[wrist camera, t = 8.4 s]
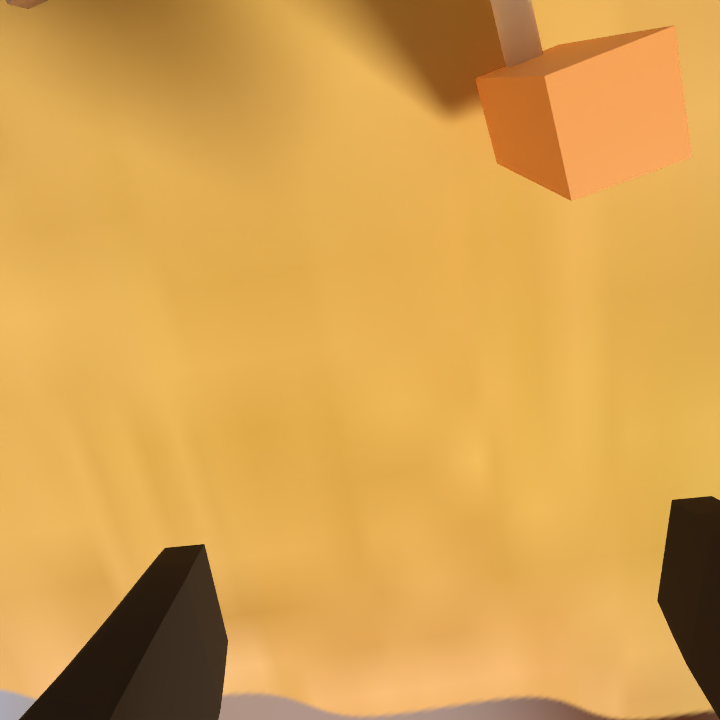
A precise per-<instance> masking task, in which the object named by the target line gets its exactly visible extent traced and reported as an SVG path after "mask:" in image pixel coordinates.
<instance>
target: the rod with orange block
mask: <svg viewBox="0 0 720 720" xmlns="http://www.w3.org/2000/svg"><path fill="white" fill-rule="evenodd" d="M490 3H491V7H492V11H493V15H494V19H495V23H496V28H497V32H498V36H499V40H500V44H501V48H502V53H503V57H504V61H505V65H506V66H504V67H502V68H499V69H497V70H494V71H492V72H489V73H487V74H484V75H481V76H479V77H476V78H475V80H476V84H477V88H478V92H479V96H480V100H481V103H482V107H483V111H484V115H485V119H486V122H487V126H488V130H489V134H490V138H491V142H492V145H493V149H494V153H495V157H496V161H497V163H498V164H500V165H502V166H504V167H506V168H508V169H509V170H511V171H513V172H515V173H517V174H519V175H521V176H523V177H525V178H527V179H529V180H531V181H533V182H535V183H537V184H539V185H541V186H543V187H545V188H547V189H549V190H551V191H553V192H555V193H557V194H559V195H561V196H563V197H565V198H567V199H569V200H571V201H573V200H575V199H578V198H581V197H584V196H586V195H589V194H592V193H595V192H597V191H600V190H603V189H606V188H608V187H611V186H614V185H617V184H619V183H622V182H625V181H628V180H630V179H633V178H636V177H639V176H641V175H644V174H647V173H650V172H652V171H655V170H658V169H661V168H663V167H666V166H669V165H671V164H674V163H677V162H680V161H682V160H685V159H688V158H691V157H692V153H691V145H690V138H689V130H688V123H687V115H686V108H685V100H684V93H683V85H682V78H681V70H680V63H679V56H678V48H677V41H676V33H675V26H669V27H663V28H657V29H651V30H645V31H639V32H633V33H627V34H621V35H615V36H609V37H603V38H597V39H591V40H585V41H579V42H573V43H567V44H561V45H558V46H555V47H553V48H550V49H548V50H545V51H542V47H541V43H540V38H539V33H538V29H537V24H536V19H535V15H534V10H533V6H532V1H531V0H490Z"/></svg>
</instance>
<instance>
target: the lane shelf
mask: <svg viewBox="0 0 720 720" xmlns="http://www.w3.org/2000/svg"><path fill="white" fill-rule="evenodd" d="M45 1H47V0H6V2H7V4H10V5H14V6H19V7H23V8H27V9H29V8H31V7H34V6H36V5H38V4H40V3H43V2H45Z"/></svg>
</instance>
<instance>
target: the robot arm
mask: <svg viewBox="0 0 720 720" xmlns="http://www.w3.org/2000/svg"><path fill="white" fill-rule="evenodd" d="M657 601H658V603H659V605H660V607H661V610H662V612H663V614H664V617H665V619H666V621H667V623H668V626H669V628H670V630H671V632H672V635H673V637H674V639H675V641H676V643H677V645H678V647H679V649H680V651H681V653H682V656H683V658H684V660H685V662H686V664H687V666H688V668H689V669H690V671H691V673H692V674H693V676H694V678H695V679H696V681H697V683H698V684H699V686H700V688H701V689H702V691H703V693H704V694H705V696H706V698H707V699H708V701H709V703H710V704H711V706H712V708H713V709H714V711H715V713H716V714H717V716H718V717H719V719H720V500H718V499H716V498H714V497H712V496H709V497H698V498H688V499H677V500H672V503H671V510H670V517H669V524H668V531H667V538H666V545H665V552H664V559H663V565H662V572H661V579H660V586H659V593H658V600H657ZM227 646H228V639H227V635H226V631H225V627H224V623H223V618H222V614H221V610H220V606H219V602H218V598H217V594H216V590H215V586H214V582H213V578H212V574H211V569H210V565H209V561H208V557H207V553H206V549H205V545H204V544H202V545H191V546H181V547H170V548H165V549H164V550H163V551H162V552H161V553H160V554H159V556H158V557H157V558H156V559H155V560H154V562H153V563H152V564H151V565H150V566H149V568H148V569H147V570H146V571H145V573H144V574H143V575H142V576H141V578H140V579H139V580H138V581H137V583H136V584H135V585H134V586H133V588H132V589H131V590H130V591H129V593H128V594H127V595H126V596H125V598H124V599H123V600H122V601H121V602H120V604H119V605H118V606H117V607H116V609H115V610H114V611H113V612H112V614H111V615H110V616H109V617H108V618H107V620H106V621H105V622H104V623H103V625H102V626H101V627H100V628H99V629H98V631H97V632H96V633H95V634H94V635H93V636H92V638H91V639H90V640H89V641H88V642H87V644H86V645H85V646H84V647H83V648H82V649H81V651H80V652H79V653H78V654H77V655H76V657H75V658H74V659H73V660H72V661H71V662H70V664H69V665H68V666H67V667H66V668H65V669H64V671H63V672H62V673H61V674H60V675H59V676H58V677H57V679H56V680H55V681H54V682H53V683H52V684H51V685H50V686H49V687H48V688H47V690H46V691H45V692H44V693H43V694H42V695H41V696H40V697H39V698H38V699H37V701H36V702H35V703H34V704H33V705H32V706H31V707H30V708H29V709H28V710H27V711H26V713H25V714H24V715H23V716H22V717H21V718H20V719H19V720H218V718H219V714H220V709H221V701H222V692H223V684H224V675H225V665H226V655H227Z"/></svg>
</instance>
